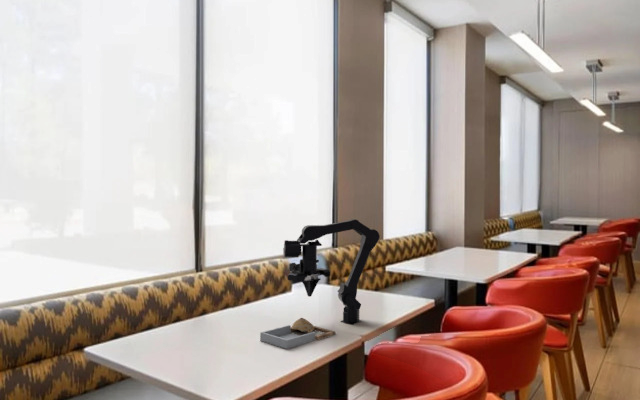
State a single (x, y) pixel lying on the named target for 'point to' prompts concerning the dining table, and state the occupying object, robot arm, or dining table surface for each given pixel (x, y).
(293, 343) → the tray
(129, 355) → the dining table surface
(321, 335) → the cradle
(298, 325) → the seashell
